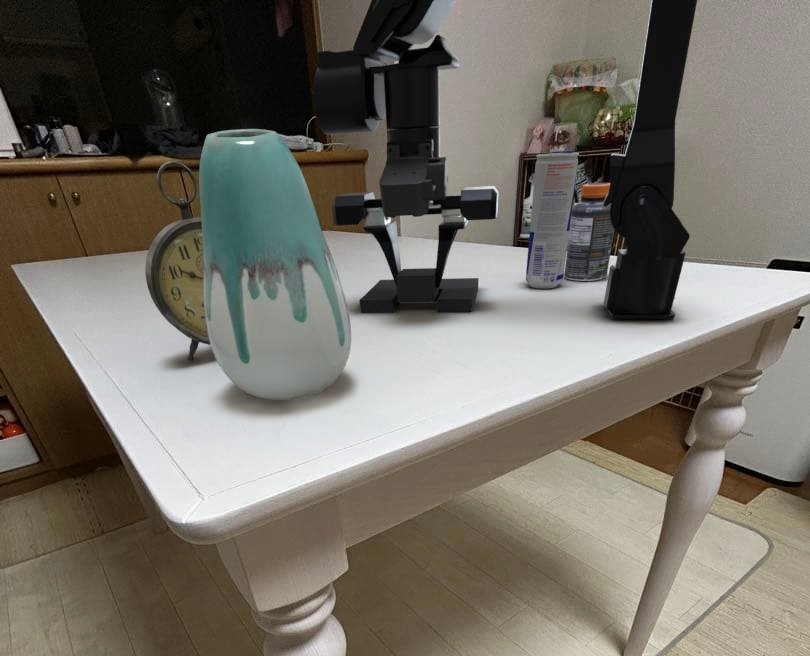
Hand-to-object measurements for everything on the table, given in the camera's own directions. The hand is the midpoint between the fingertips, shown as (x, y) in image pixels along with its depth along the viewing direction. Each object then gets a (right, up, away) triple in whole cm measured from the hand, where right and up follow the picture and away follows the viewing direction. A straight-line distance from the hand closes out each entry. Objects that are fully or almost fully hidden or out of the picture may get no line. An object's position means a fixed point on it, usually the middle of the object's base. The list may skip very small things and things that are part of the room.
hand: (418, 287), depth 64 cm
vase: (-12, -18, -19) cm, 29 cm away
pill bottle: (+25, +6, +10) cm, 27 cm away
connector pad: (0, -1, +1) cm, 1 cm away
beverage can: (+18, +4, +7) cm, 20 cm away
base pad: (+1, 0, +4) cm, 4 cm away
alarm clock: (-21, -12, -10) cm, 25 cm away
